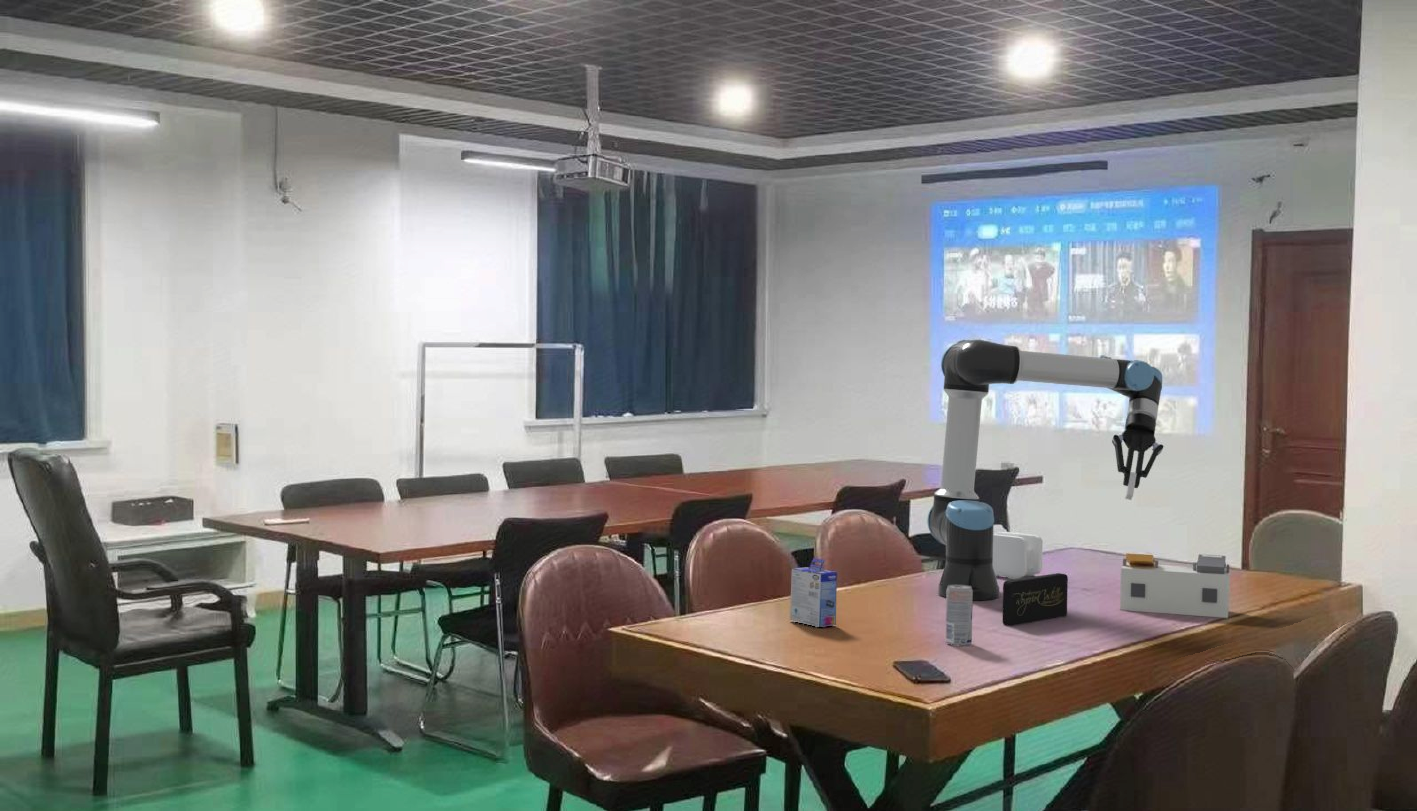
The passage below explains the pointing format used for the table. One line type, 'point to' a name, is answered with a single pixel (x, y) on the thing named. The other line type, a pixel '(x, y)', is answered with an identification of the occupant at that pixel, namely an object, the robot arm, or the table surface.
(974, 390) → the robot arm
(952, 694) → the table surface
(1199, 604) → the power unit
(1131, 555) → the rocker orange
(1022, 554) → the cable organizer
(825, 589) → the ink cartridge box
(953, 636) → the energy drink
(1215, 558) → the rocker charcoal
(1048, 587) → the nameplate
